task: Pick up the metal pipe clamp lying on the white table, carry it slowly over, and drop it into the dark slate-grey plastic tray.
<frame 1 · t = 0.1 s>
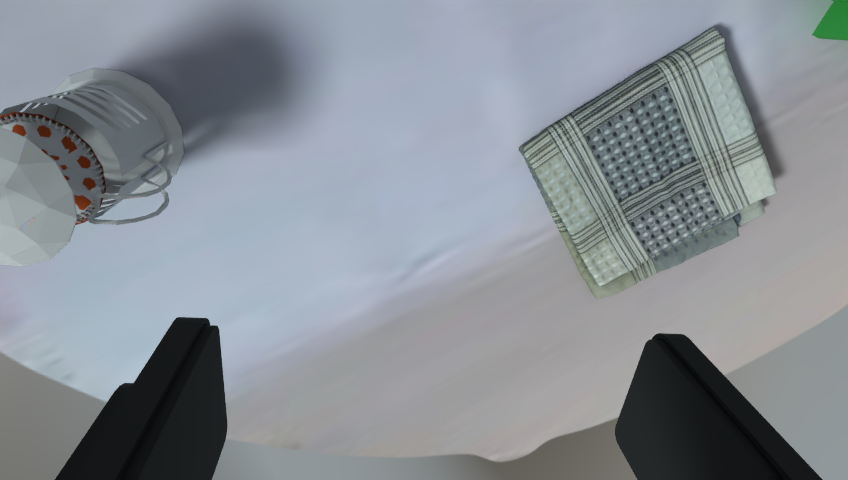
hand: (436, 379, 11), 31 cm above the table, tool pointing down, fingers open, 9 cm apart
dish towel: (642, 176, 44), on the table
grey metal lantern: (130, 137, 38), on the table
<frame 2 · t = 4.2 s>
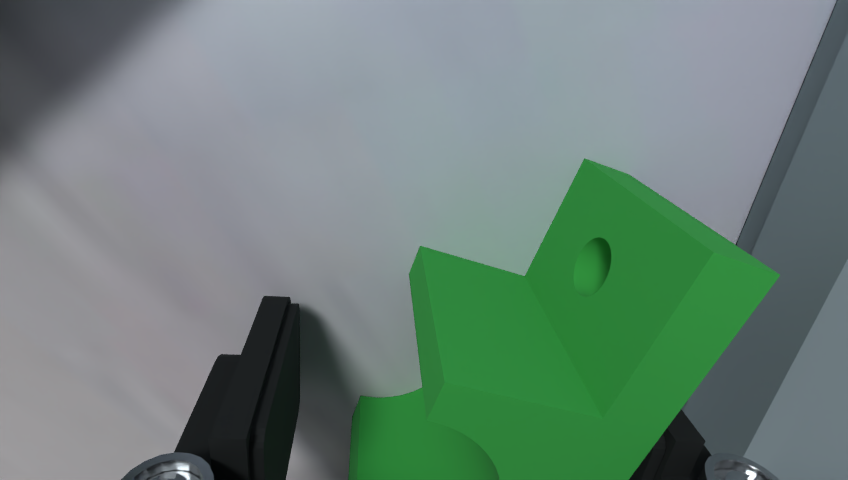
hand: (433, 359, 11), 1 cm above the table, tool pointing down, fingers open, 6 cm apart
pipe clamp: (458, 346, 12), on the table, touching gripper
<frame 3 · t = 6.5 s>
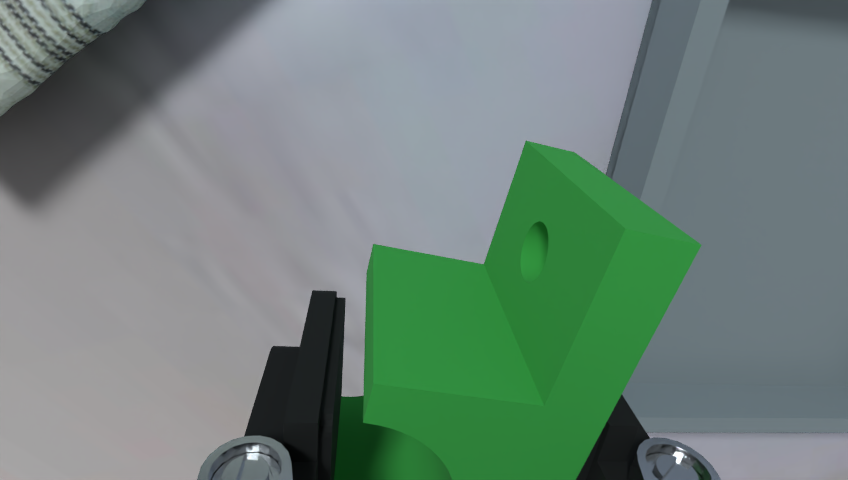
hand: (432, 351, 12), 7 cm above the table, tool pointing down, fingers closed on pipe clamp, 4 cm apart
pipe clamp: (430, 341, 12), point 6 cm above the table, touching gripper
tray: (794, 210, 19), on the table
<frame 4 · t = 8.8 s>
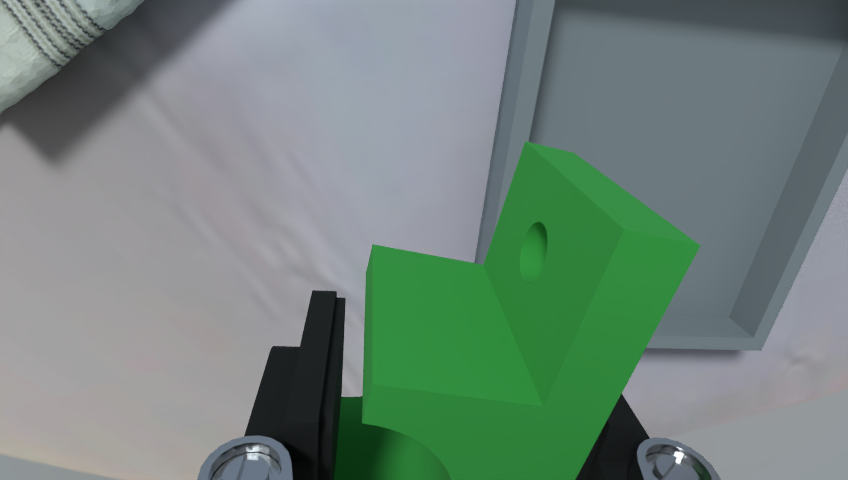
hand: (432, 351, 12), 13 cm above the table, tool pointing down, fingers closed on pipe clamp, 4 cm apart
pipe clamp: (429, 342, 12), point 12 cm above the table, touching gripper
tray: (648, 168, 24), on the table
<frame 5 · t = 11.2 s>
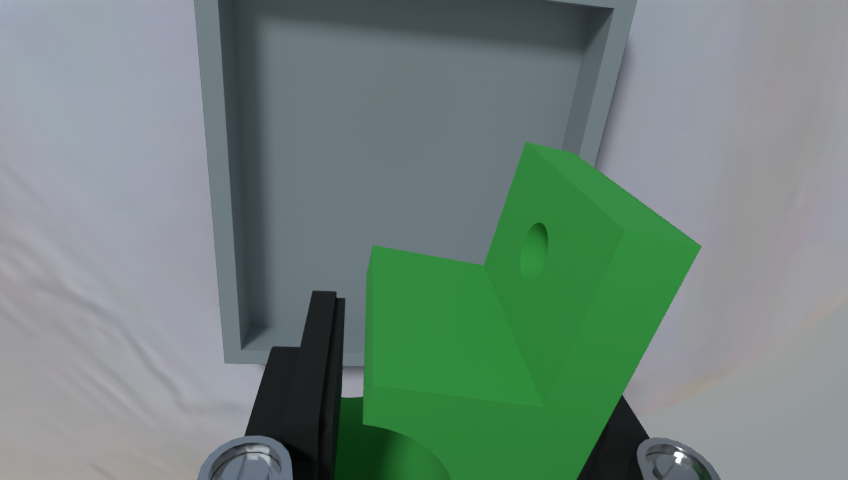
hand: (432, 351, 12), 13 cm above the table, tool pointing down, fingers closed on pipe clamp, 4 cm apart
pipe clamp: (429, 342, 12), point 12 cm above the table, touching gripper
tray: (402, 181, 23), on the table
when the fingers open (3 cm above the table, at t = 13.3 s): pipe clamp drops 2 cm, resting on tray.
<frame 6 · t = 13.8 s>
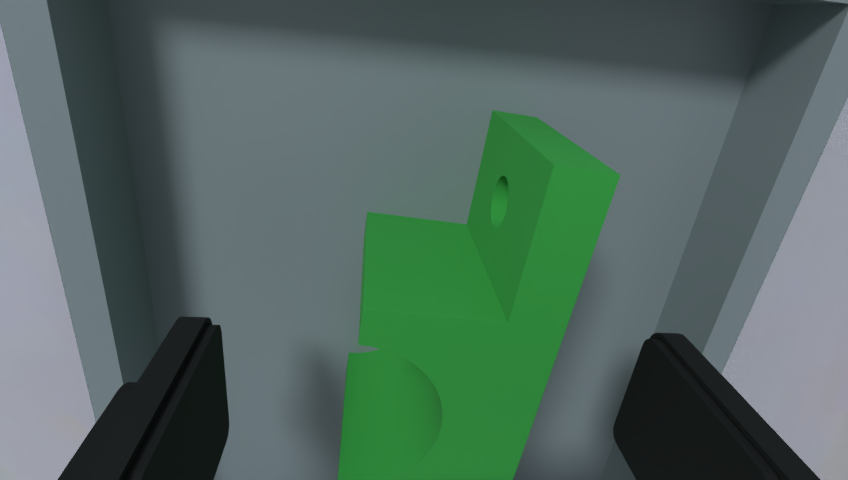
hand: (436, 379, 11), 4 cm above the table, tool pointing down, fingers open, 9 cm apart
pipe clamp: (426, 298, 14), resting on tray
tray: (421, 289, 14), on the table
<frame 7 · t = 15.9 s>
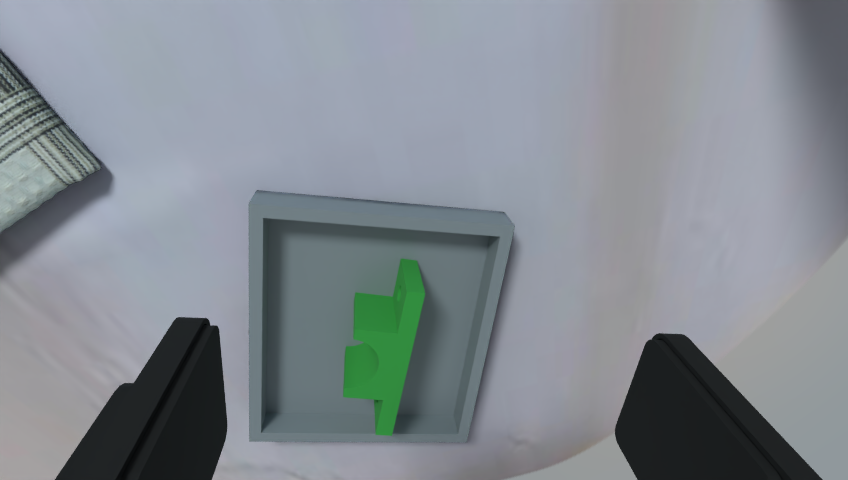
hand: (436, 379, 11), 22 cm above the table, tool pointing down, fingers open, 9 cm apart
pipe clamp: (377, 324, 35), resting on tray
tray: (372, 320, 35), on the table
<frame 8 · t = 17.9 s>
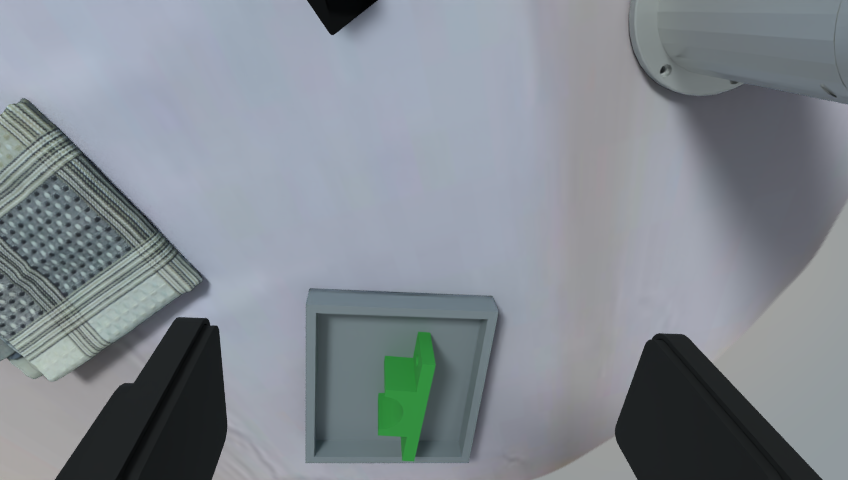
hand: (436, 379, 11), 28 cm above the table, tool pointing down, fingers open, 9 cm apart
dish towel: (41, 250, 39), on the table
pipe clamp: (402, 377, 46), resting on tray
tray: (395, 373, 46), on the table
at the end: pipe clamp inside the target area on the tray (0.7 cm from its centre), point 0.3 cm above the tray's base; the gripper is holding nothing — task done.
